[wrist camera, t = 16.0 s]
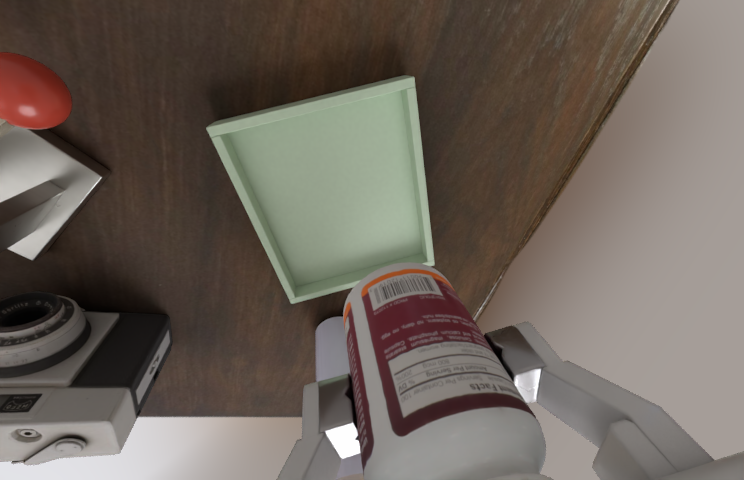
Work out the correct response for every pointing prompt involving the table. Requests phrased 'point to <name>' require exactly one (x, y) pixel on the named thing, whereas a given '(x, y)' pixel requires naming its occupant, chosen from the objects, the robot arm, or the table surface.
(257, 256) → the table surface
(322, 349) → the perfume bottle
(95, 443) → the camera
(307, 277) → the tray
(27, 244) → the bracket
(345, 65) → the table surface
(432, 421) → the pill bottle
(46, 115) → the lever
